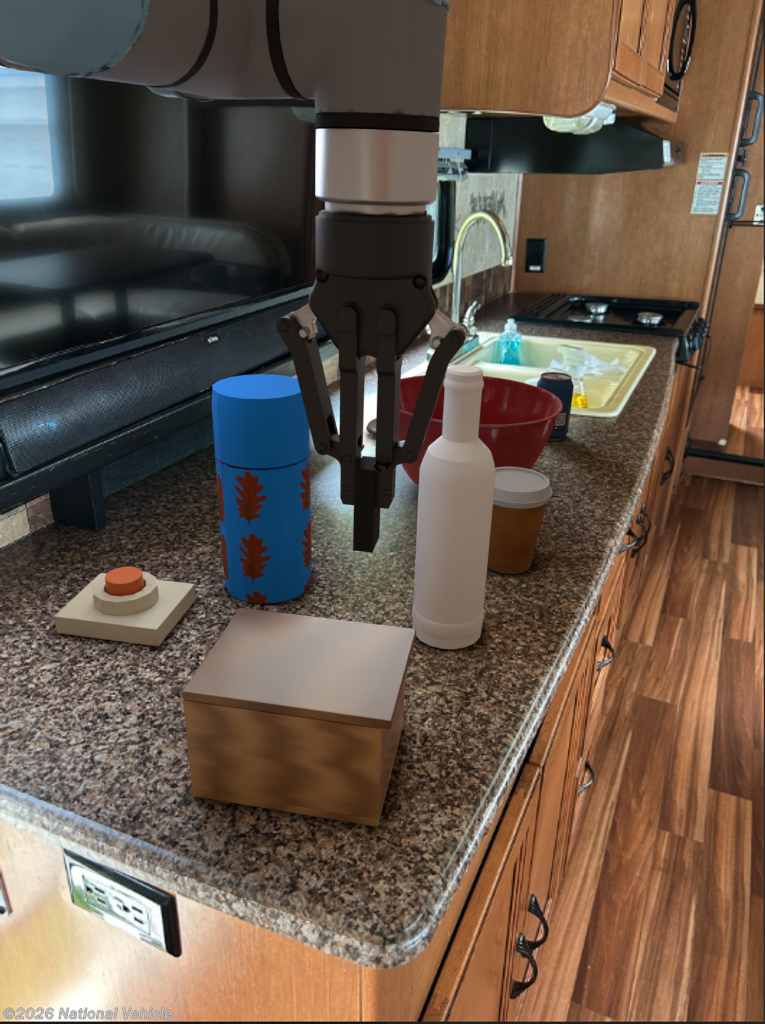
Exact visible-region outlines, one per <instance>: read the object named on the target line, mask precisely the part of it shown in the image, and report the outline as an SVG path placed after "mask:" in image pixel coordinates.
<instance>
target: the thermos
mask: <svg viewBox="0 0 765 1024" xmlns="http://www.w3.org/2000/svg"><path fill="white" fill-rule="evenodd" d="M211 414H212V431H213V444H214V445H213V446H214V456H215V459H214V460H215V472H216V486H217V500H218V514H219V516H218V517H219V528H220V542H221V557H222V558H221V559H222V566H223V573H224V582H225V588H226V590H227V591H228V593H229V594H230V596H232V597H234V598H236V599H238V600H240V601H243V602H246V603H252V604H267V605H268V604H271V605H272V604H275V603H276V604H277V603H282V602H283V603H284V602H287V601H289V600H292V599H295V598H297V597H299V596H300V595H302V594H303V593H305V592H306V591H307V589H308V588H309V586H310V584H311V576H312V557H313V555H312V506H311V505H312V504H311V503H312V499H311V498H312V495H311V490H312V489H311V454H310V453H311V438H310V437H311V436H310V435H311V432H310V427H309V423H308V419H307V415H306V411H305V407H304V403H303V399H302V395H301V391H300V387H299V383H298V379H297V377H292V376H288V375H280V374H265V373H264V374H263V373H262V374H261V373H257V374H243V375H236V376H230V377H227V378H224V379H220V380H218V381H216V382H215V383H213V384H212V393H211Z"/></svg>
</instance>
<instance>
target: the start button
mask: <svg viewBox="0 0 765 1024" xmlns="http://www.w3.org/2000/svg"><path fill="white" fill-rule="evenodd" d="M142 572H143V571H142V570H141V569H140V568H138V567H135V566H121V567H116V568H114V569H111V570H109V571H108V572H107V573H106V576H105V582H106V589H107V593H108V594H109V595H113V596H126V595H133V594H135V593H137V592H140V591H142V590H143V588H144V582H143V574H142Z"/></svg>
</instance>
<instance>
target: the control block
mask: <svg viewBox="0 0 765 1024" xmlns="http://www.w3.org/2000/svg"><path fill="white" fill-rule="evenodd" d="M106 574H107V573H104V572H100V573H99V574H97V576H96V577H95V578H93V579H92V580H91V581H90V582H89V583H88V584H87V585H86V586H85V587H84V588H83V589H82V590H81V591H80V592H79V593H77V594H76V595H75V596H74V597H73V598H72V599H71V600H70V601H69V602H68V603H66V604H65V605H64V606H63V607H62V608H61V609H60V610H59V611H58V612H57V613H56V614H55V615H53V619H54V624H55V629H56V633H57V634H63V635H69V636H77V637H85V638H91V639H99V640H108V641H114V642H115V641H116V642H121V643H122V642H123V643H129V644H137V645H143V646H152V647H160V646H161V645H162V643H163V642H164V640H165V639H166V638H167V636H168V635H169V634H170V633H171V632H172V630H173V629H174V628H175V627H176V625H177V624H178V623H179V621H180V620H181V619H182V618H183V617H184V616H185V614H186V613H187V612H188V611H189V609H190V608H191V607H192V605H194V603H195V602H196V600H197V597H196V587H195V584H194V583H189V582H180V581H173V580H164V579H163V580H162V579H157V577H156V576H155V575H153V574H151V573H149V572H147V571H142V574H143V582H144V588H143V590H142V591H140V592H137V593H135V594H133V595H126V596H113V595H109V594H108V593H107V589H106V582H105V576H106Z"/></svg>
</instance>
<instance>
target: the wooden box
mask: <svg viewBox="0 0 765 1024" xmlns="http://www.w3.org/2000/svg"><path fill="white" fill-rule="evenodd" d="M405 695H406V679H405V680H404V684H403V687H402V691H401V695H400V699H399V702H398V706H397V710H396V714H395V717H394V721H393V725H392V728H391V729H384V728H377V727H370V726H363V725H356V724H349V723H342V722H335V721H328V720H321V719H314V718H307V717H300V716H293V715H287V714H280V713H273V712H266V711H259V710H252V709H245V708H238V707H231V706H224V705H217V704H210V703H203V702H196V701H190V700H183V699H182V705H183V715H184V724H185V734H186V745H187V753H188V761H189V762H188V763H189V773H190V780H191V793H192V797H195V798H203V799H206V800H213V801H218V802H224V803H225V802H226V803H231V804H237V805H242V806H249V807H256V808H260V809H267V810H273V811H280V812H285V813H291V814H297V815H304V816H309V817H317V818H321V819H328V820H332V821H333V820H334V821H339V822H345V823H352V824H358V825H364V826H368V827H370V826H371V827H375V828H378V827H379V824H380V820H381V816H382V811H383V808H384V804H385V799H386V796H387V792H388V788H389V785H390V781H391V776H392V772H393V768H394V763H395V760H396V756H397V751H398V748H399V744H400V740H401V735H402V732H403V727H404V721H405V718H404V717H405V698H406V697H405Z"/></svg>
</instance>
